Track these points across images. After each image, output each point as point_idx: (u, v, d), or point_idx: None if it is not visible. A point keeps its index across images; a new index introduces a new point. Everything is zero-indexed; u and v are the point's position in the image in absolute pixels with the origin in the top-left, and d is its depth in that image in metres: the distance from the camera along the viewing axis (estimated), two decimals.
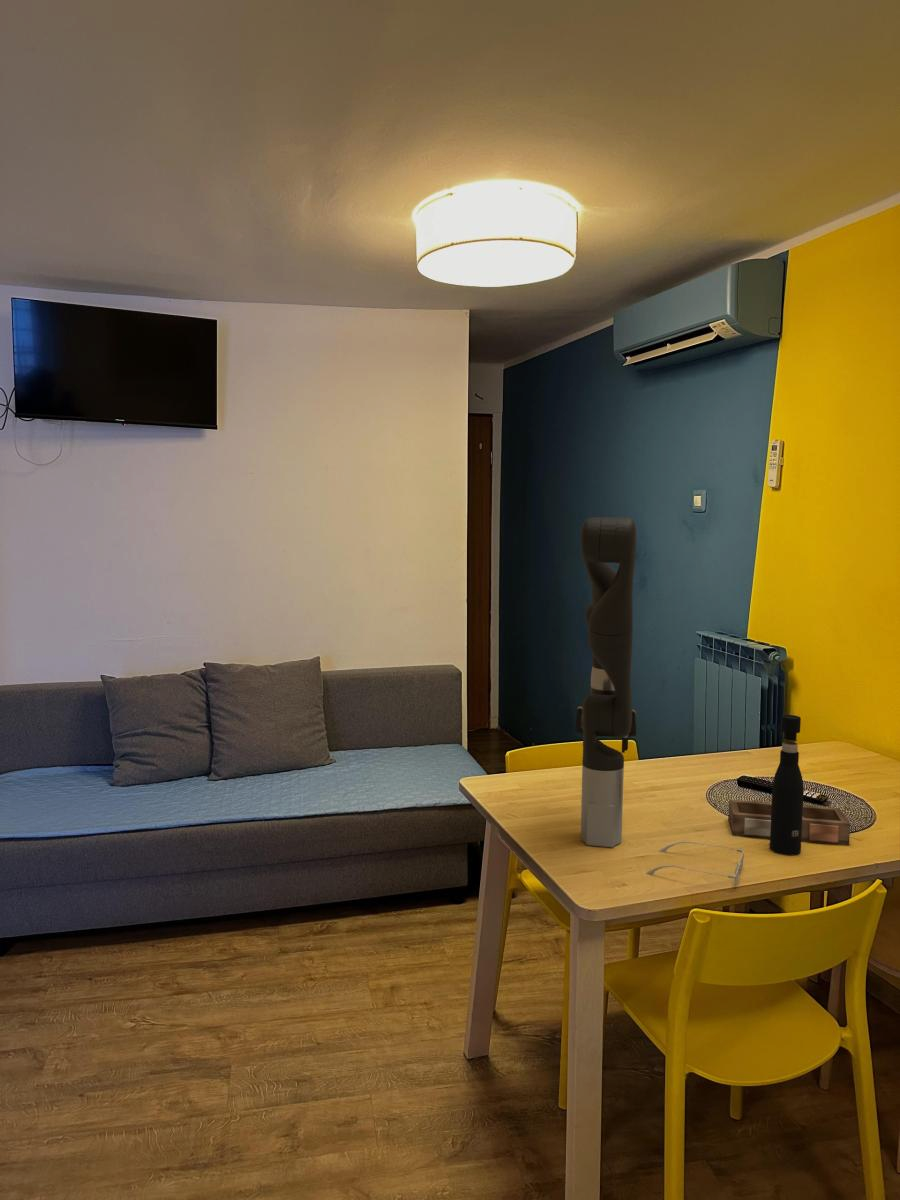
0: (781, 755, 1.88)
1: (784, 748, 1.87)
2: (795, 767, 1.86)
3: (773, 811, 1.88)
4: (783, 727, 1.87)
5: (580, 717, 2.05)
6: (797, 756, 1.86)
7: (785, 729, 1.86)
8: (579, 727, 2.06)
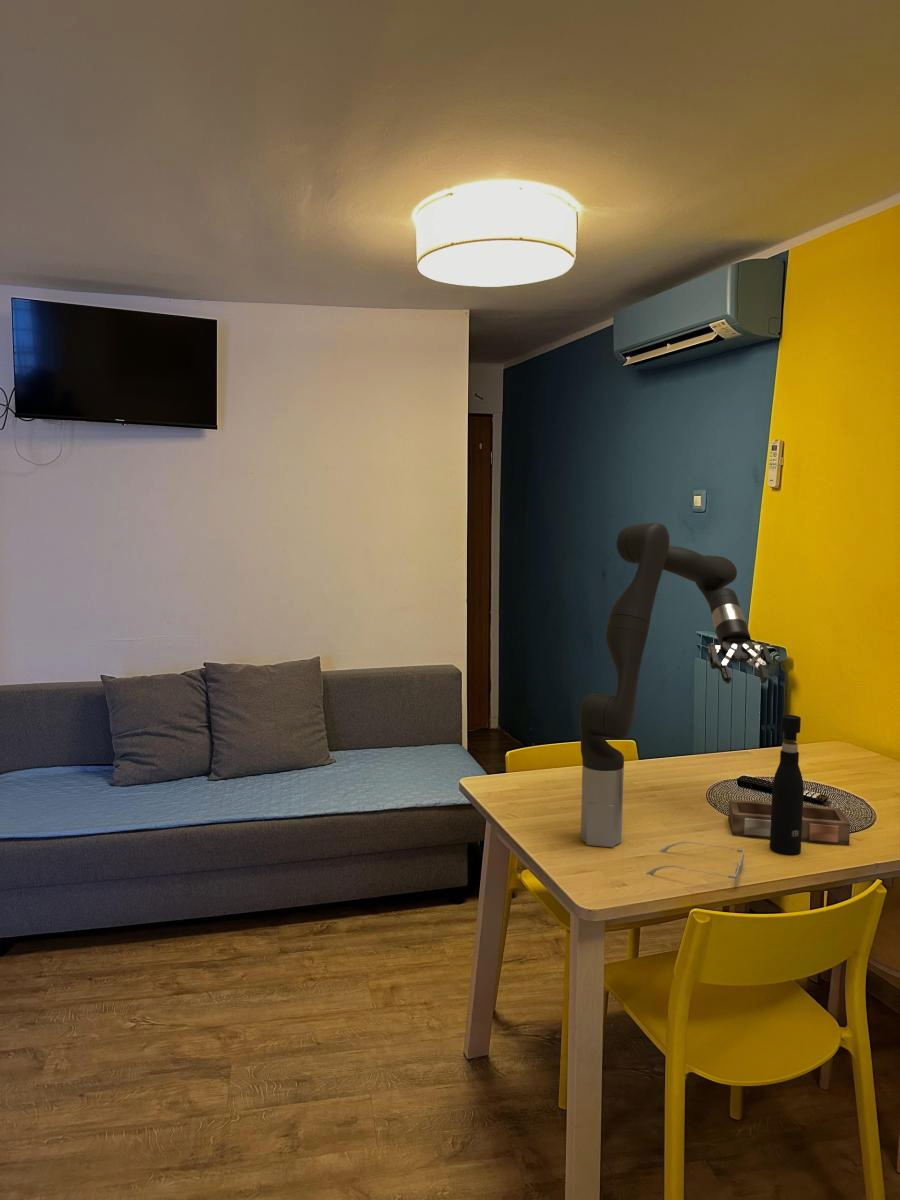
0: (781, 755, 1.88)
1: (784, 748, 1.87)
2: (795, 767, 1.86)
3: (773, 811, 1.88)
4: (783, 727, 1.87)
5: (715, 650, 2.06)
6: (797, 756, 1.86)
7: (785, 729, 1.86)
8: (716, 658, 2.04)
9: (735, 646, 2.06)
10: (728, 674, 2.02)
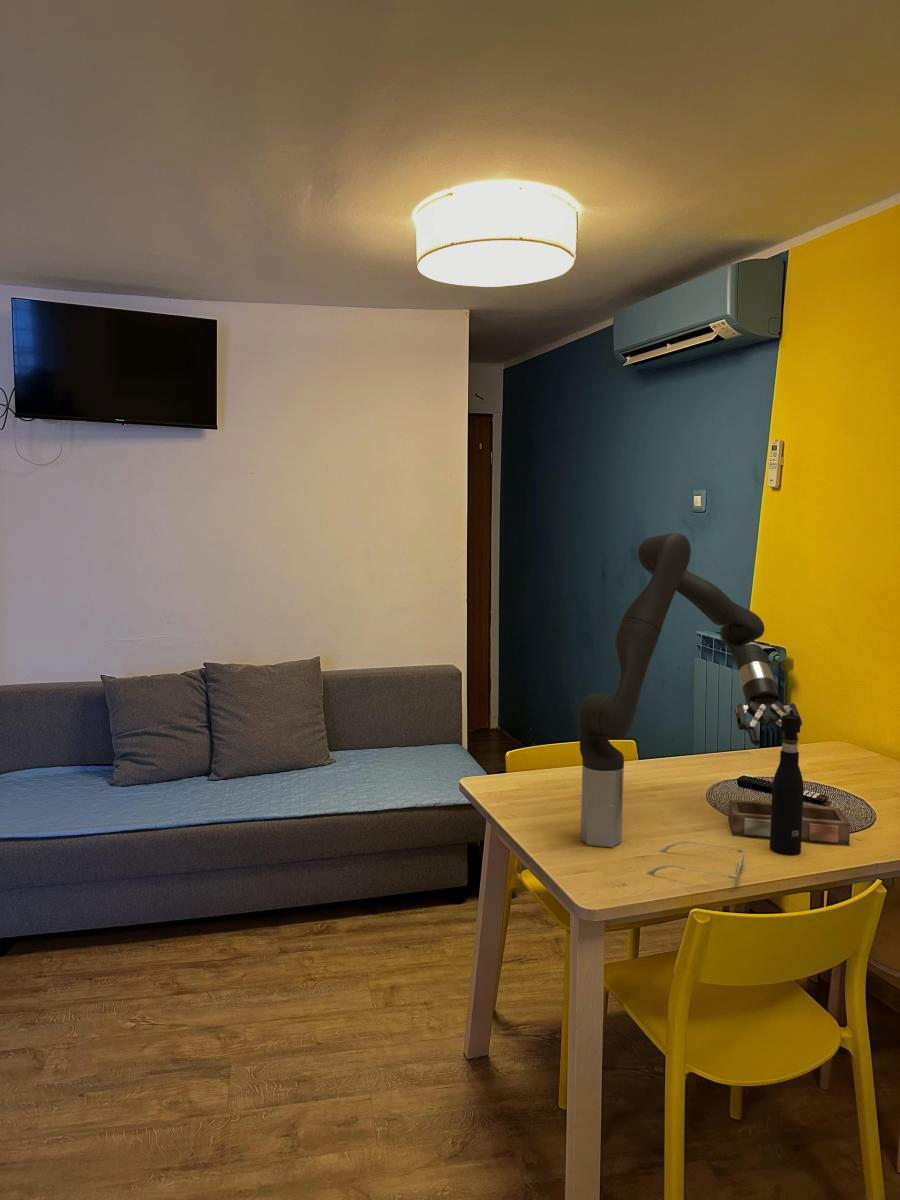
0: (781, 755, 1.88)
1: (784, 748, 1.87)
2: (795, 767, 1.86)
3: (773, 811, 1.88)
4: (783, 727, 1.87)
5: (743, 710, 1.99)
6: (797, 756, 1.86)
7: (785, 729, 1.86)
8: (744, 719, 1.97)
9: (764, 706, 1.99)
10: (757, 736, 1.95)
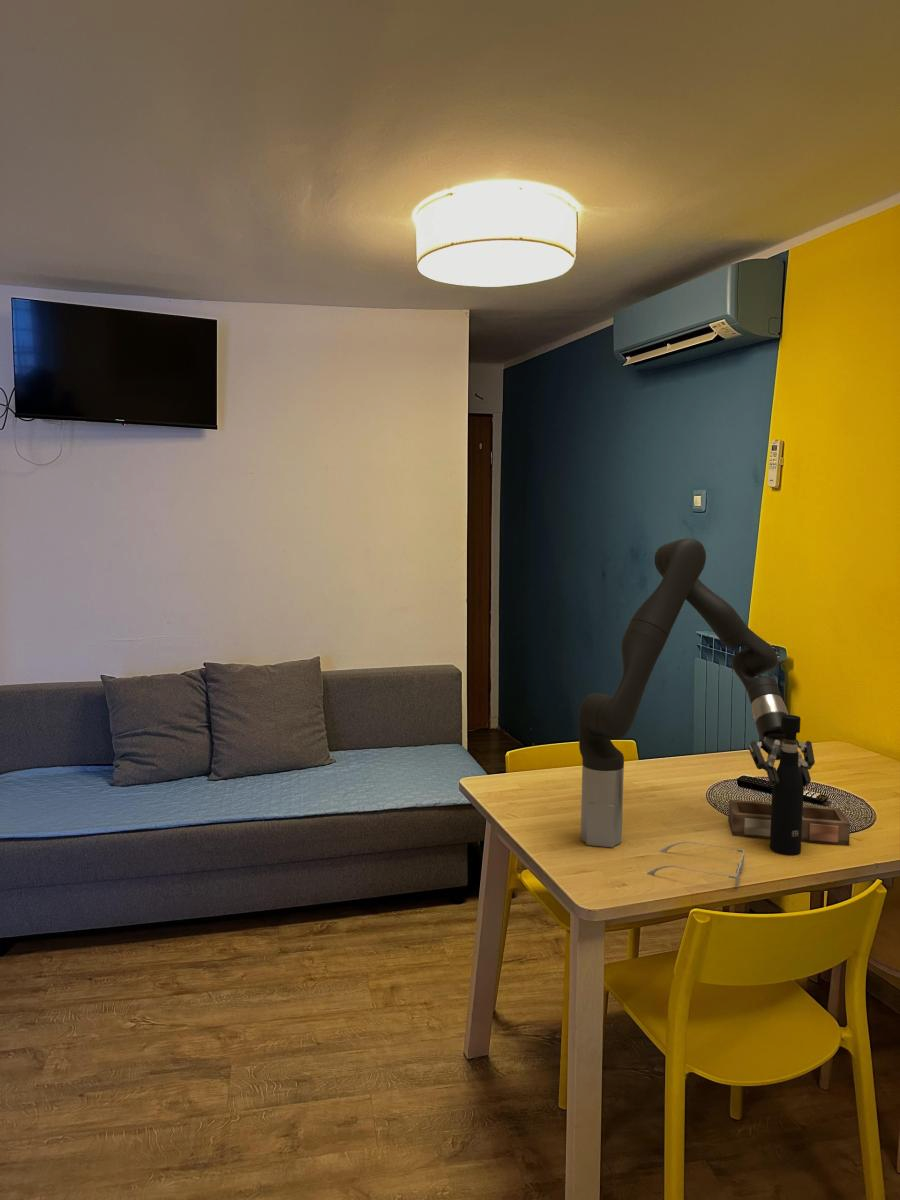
0: (780, 755, 1.88)
1: (784, 748, 1.87)
2: (795, 767, 1.86)
3: (773, 811, 1.88)
4: (783, 727, 1.87)
5: (758, 748, 1.91)
6: (797, 756, 1.86)
7: (785, 729, 1.86)
8: (763, 758, 1.89)
9: (778, 742, 1.91)
10: (776, 777, 1.86)
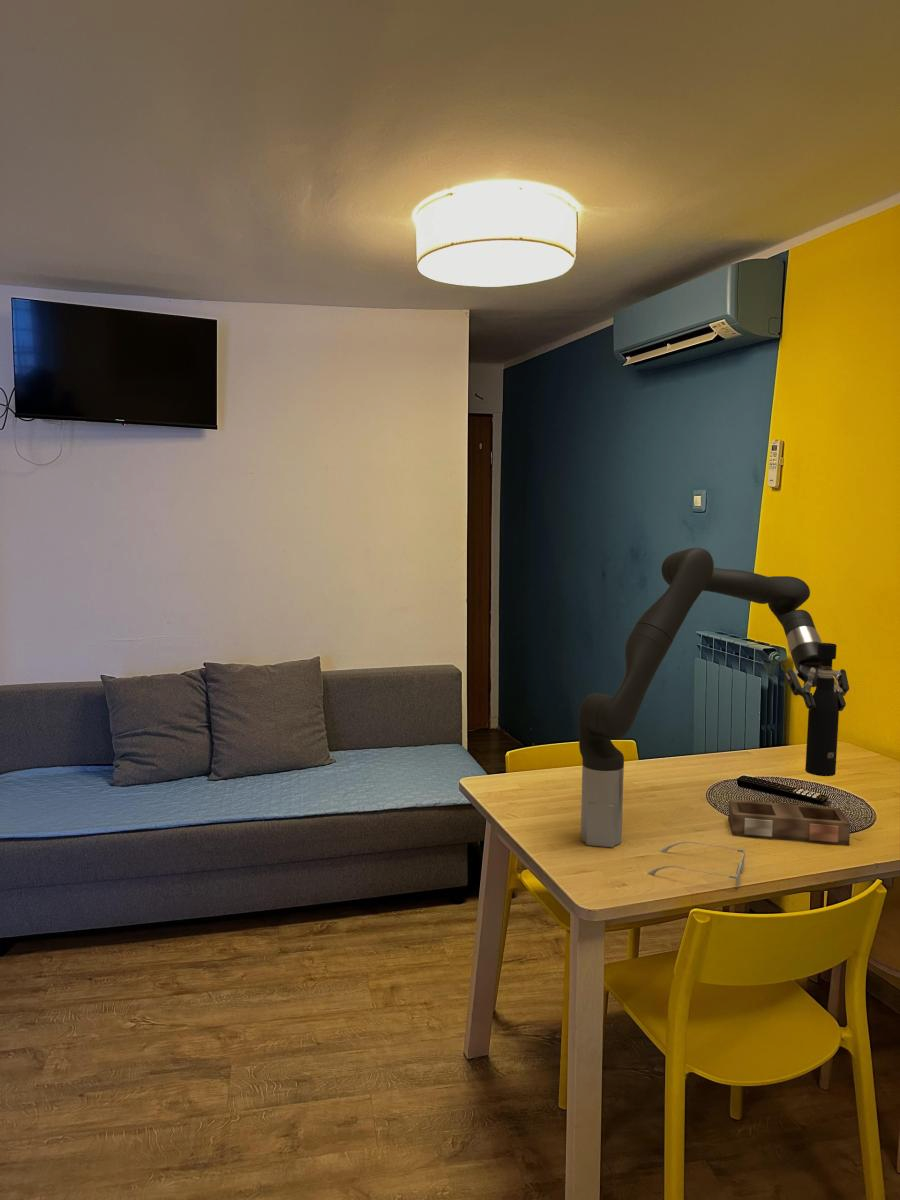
0: (817, 681, 1.96)
1: (820, 674, 1.95)
2: (830, 692, 1.95)
3: (809, 735, 1.97)
4: (819, 654, 1.95)
5: (795, 676, 1.99)
6: (833, 681, 1.95)
7: (822, 655, 1.95)
8: (799, 685, 1.98)
9: (814, 670, 2.00)
10: (812, 701, 1.95)
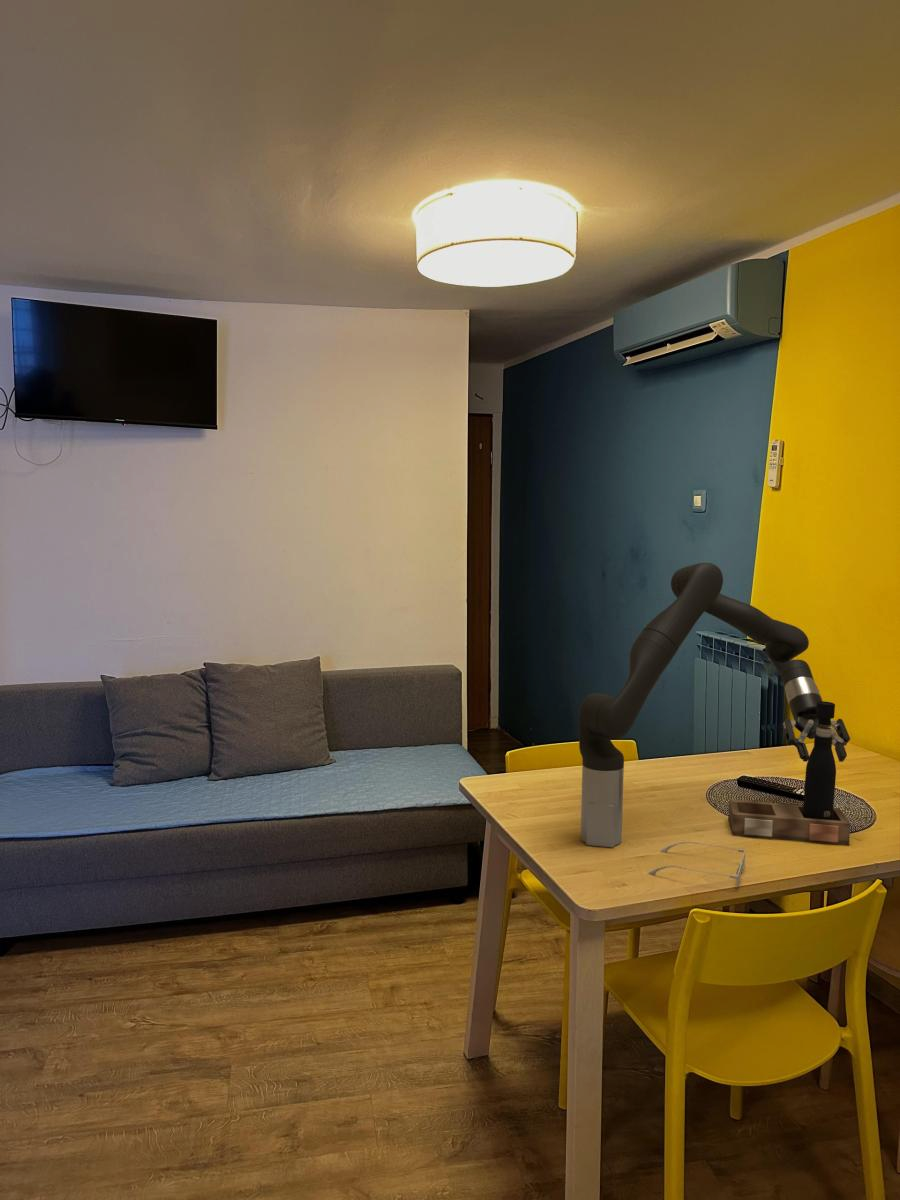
0: (815, 739, 1.97)
1: (818, 733, 1.97)
2: (828, 751, 1.96)
3: (806, 792, 1.98)
4: (818, 713, 1.96)
5: (791, 726, 2.01)
6: (831, 740, 1.96)
7: (820, 714, 1.96)
8: (793, 735, 1.99)
9: (811, 722, 2.00)
10: (806, 752, 1.96)
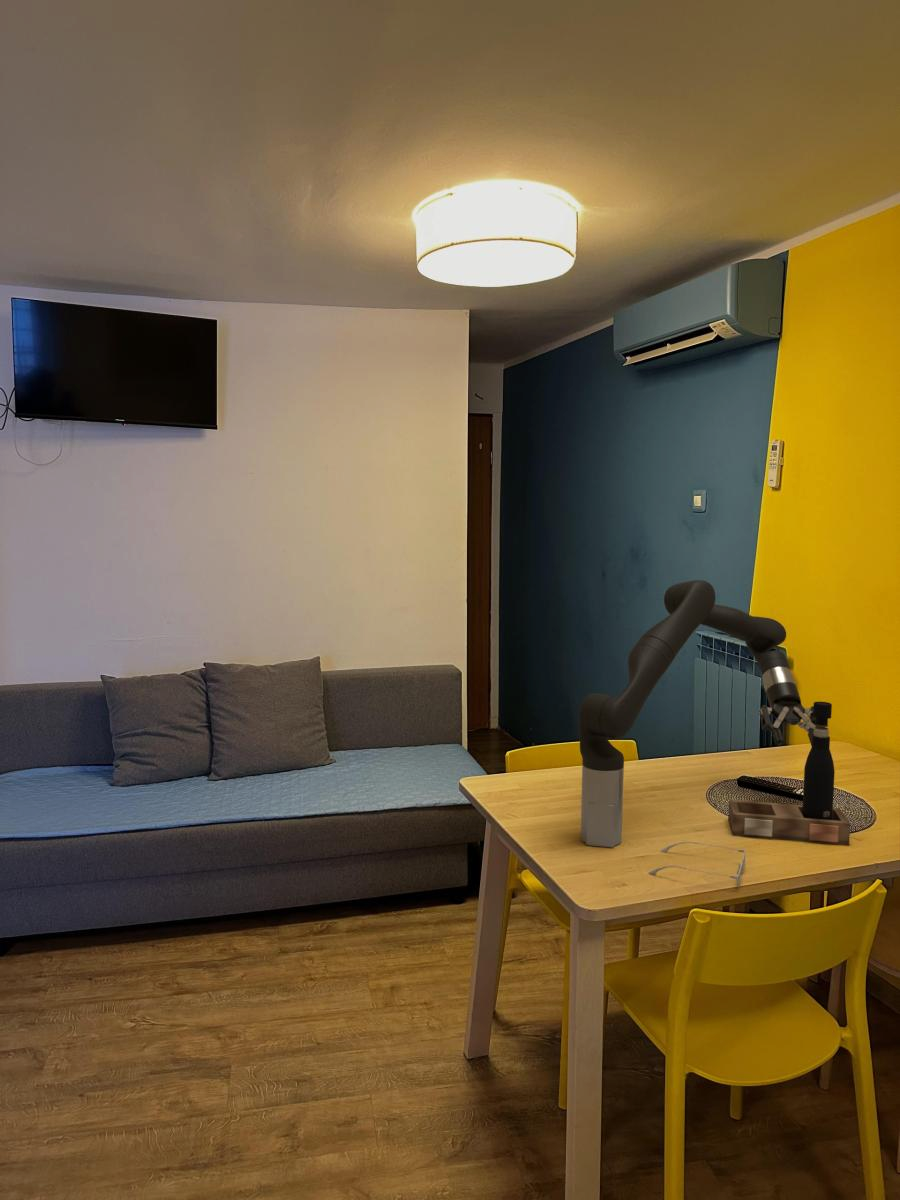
0: (812, 740, 1.97)
1: (816, 733, 1.97)
2: (826, 751, 1.96)
3: (805, 793, 1.98)
4: (815, 713, 1.96)
5: (767, 712, 2.13)
6: (828, 740, 1.96)
7: (817, 715, 1.96)
8: (769, 721, 2.12)
9: (786, 709, 2.13)
10: (780, 737, 2.09)
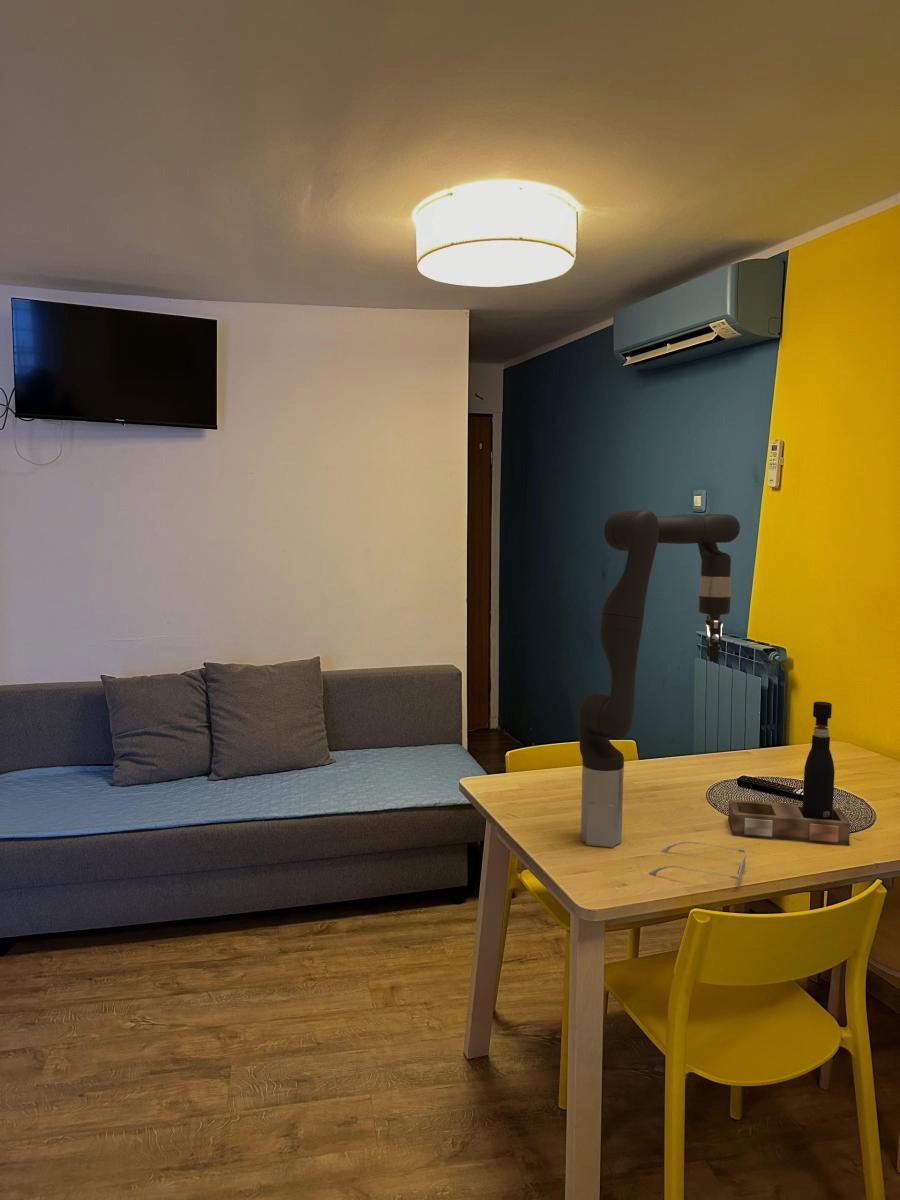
0: (812, 740, 1.98)
1: (816, 733, 1.97)
2: (826, 751, 1.96)
3: (805, 793, 1.98)
4: (815, 713, 1.96)
5: (720, 629, 2.08)
6: (828, 740, 1.96)
7: (817, 715, 1.96)
8: None
9: None
10: (718, 656, 2.10)
